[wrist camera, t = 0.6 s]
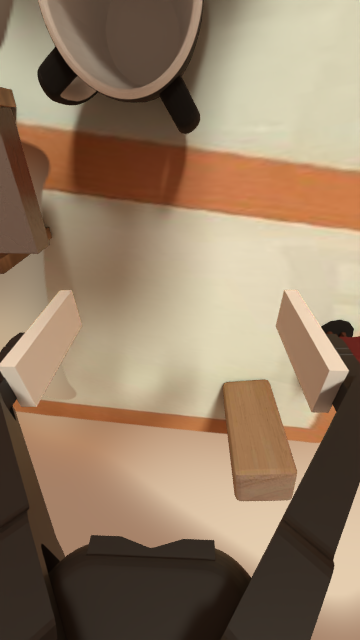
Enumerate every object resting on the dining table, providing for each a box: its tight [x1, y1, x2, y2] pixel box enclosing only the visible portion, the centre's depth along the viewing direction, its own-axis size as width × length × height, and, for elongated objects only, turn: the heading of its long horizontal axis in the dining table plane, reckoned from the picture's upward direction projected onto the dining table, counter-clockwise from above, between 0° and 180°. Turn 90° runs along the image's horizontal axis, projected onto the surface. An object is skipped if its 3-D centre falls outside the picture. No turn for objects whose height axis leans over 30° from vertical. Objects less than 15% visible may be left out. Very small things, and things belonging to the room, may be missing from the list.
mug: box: [38, 0, 203, 134], centre depth 24 cm, size 16×16×12 cm
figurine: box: [321, 320, 360, 363], centre depth 44 cm, size 7×7×15 cm
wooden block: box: [223, 380, 297, 501], centre depth 53 cm, size 10×10×20 cm
